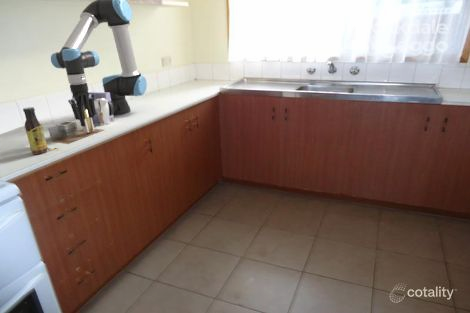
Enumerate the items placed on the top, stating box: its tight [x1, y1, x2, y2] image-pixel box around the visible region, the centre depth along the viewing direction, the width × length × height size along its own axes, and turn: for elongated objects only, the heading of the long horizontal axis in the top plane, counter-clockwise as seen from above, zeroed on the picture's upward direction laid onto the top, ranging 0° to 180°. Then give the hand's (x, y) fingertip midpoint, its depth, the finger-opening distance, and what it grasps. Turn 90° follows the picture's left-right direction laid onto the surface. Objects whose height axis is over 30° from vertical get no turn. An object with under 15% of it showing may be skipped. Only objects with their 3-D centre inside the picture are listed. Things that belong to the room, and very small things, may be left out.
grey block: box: [55, 119, 83, 138], centre depth 161 cm, size 12×6×6 cm, turn 155°
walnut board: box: [45, 128, 105, 145], centre depth 160 cm, size 22×16×2 cm
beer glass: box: [94, 98, 112, 126], centre depth 174 cm, size 7×7×15 cm
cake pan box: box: [83, 91, 115, 123], centre depth 181 cm, size 19×5×18 cm, turn 77°
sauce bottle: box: [22, 106, 49, 155], centre depth 139 cm, size 7×6×20 cm
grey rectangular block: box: [47, 125, 77, 140], centre depth 156 cm, size 12×6×6 cm, turn 155°
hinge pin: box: [83, 109, 93, 134], centre depth 158 cm, size 3×3×12 cm
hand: (89, 131), depth 160 cm, fingers closed on hinge pin, 3 cm apart
